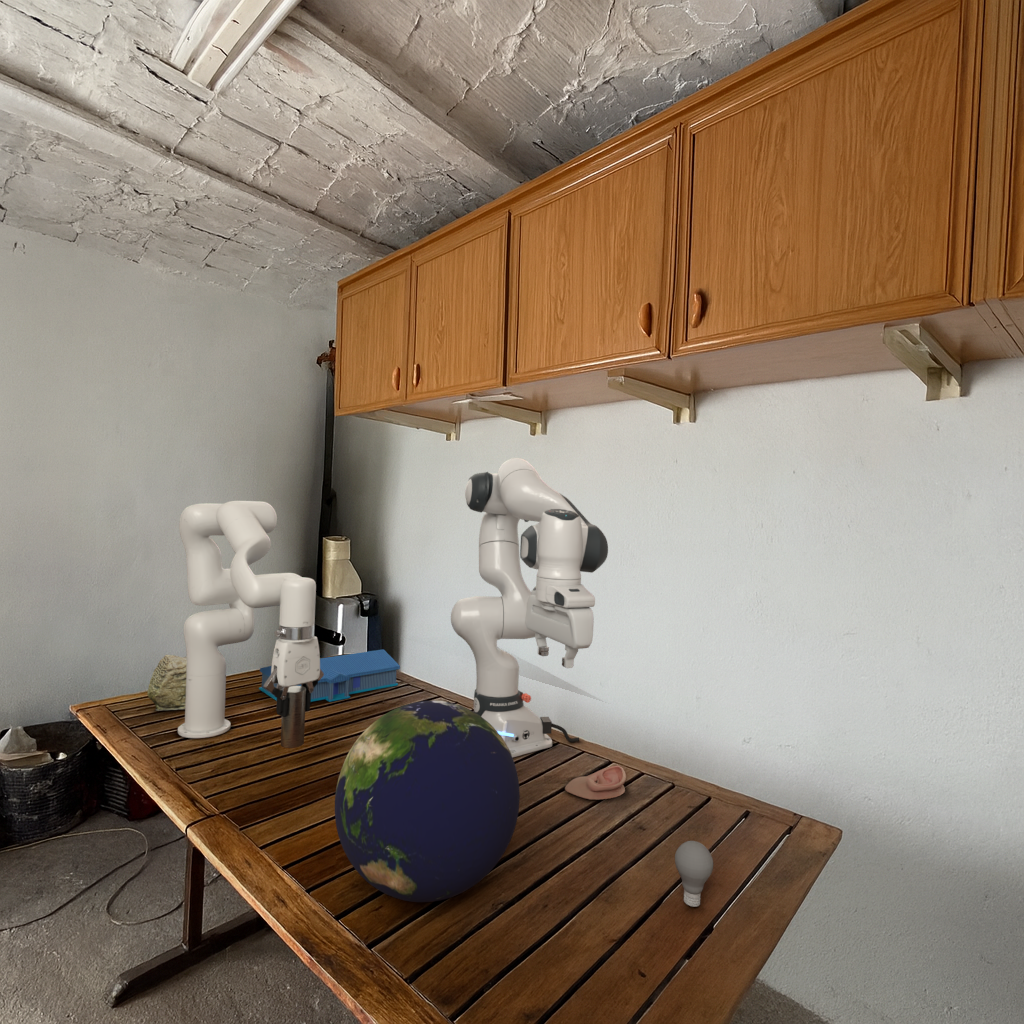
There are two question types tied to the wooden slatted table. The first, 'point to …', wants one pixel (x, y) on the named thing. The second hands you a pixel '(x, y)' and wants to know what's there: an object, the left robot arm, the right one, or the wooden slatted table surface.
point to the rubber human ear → (599, 784)
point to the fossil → (169, 683)
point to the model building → (349, 675)
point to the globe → (427, 801)
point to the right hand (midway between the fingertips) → (554, 661)
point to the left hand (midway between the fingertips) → (293, 711)
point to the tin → (294, 718)
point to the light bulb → (693, 869)
